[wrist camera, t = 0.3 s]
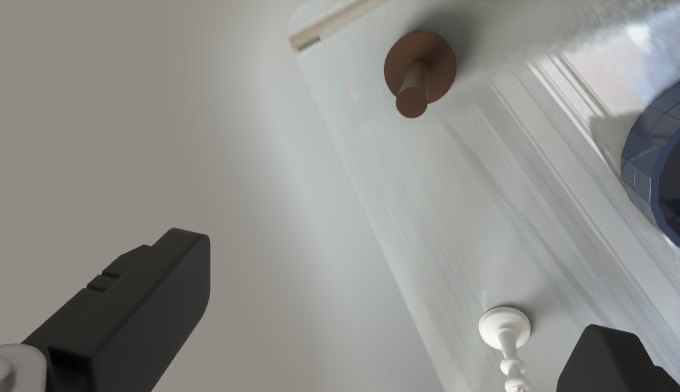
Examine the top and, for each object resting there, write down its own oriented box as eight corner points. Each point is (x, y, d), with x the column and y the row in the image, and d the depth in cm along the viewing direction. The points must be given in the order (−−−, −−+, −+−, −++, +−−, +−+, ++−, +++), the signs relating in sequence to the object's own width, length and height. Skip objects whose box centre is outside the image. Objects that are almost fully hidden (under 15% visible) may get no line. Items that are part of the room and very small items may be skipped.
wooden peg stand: (375, 53, 37) (337, 80, 23) (436, 17, 35) (438, 22, 21) (405, 111, 39) (388, 172, 24) (466, 80, 37) (487, 125, 22)
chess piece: (539, 319, 44) (567, 399, 35) (514, 353, 46) (533, 436, 37) (493, 298, 44) (509, 373, 35) (470, 333, 46) (479, 412, 37)
